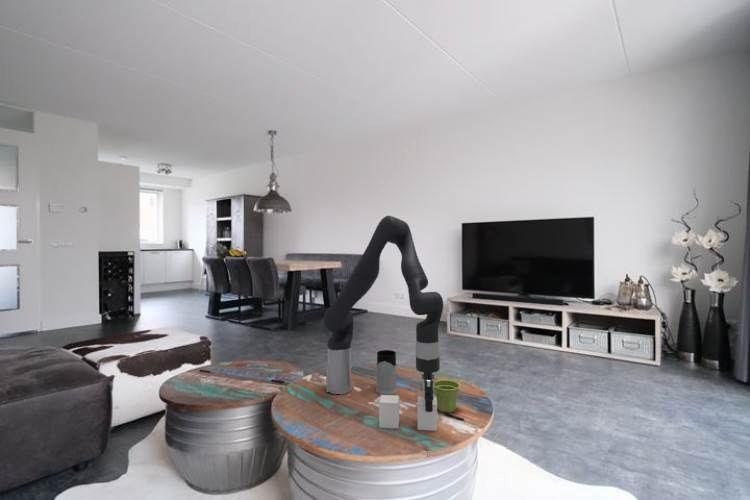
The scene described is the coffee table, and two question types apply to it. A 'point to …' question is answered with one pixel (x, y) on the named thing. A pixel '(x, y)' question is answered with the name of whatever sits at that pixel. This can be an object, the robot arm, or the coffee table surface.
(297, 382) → the coffee table surface
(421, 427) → the light grey rectangular block
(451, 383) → the plant pot
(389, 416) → the left white block
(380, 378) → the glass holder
